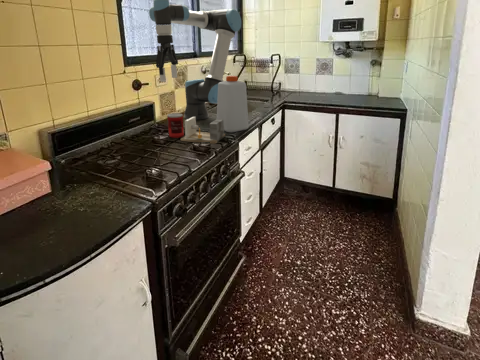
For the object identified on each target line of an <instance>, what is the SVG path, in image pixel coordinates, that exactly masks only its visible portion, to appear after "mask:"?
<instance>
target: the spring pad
mask: <svg viewBox="0 0 480 360" xmlns="http://www.w3.org/2000/svg"><path fill="white" fill-rule="evenodd" d="M197 130H199V124H197V120H196V117H191V118H189V119H184V134H185V135H184V137H190V136H191V135H193V134H194V133H196V132H197Z"/></svg>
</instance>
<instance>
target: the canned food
mask: <svg viewBox="0 0 480 360" xmlns="http://www.w3.org/2000/svg"><path fill="white" fill-rule="evenodd" d="M166 117H167V129H168V136H169V138H172V139H179V138H180V139H181V138H183V137H185V135H184V134H185V126H184V114H182V113H179V112H178V113H176V112H174V113H173V112H171V113H168V114H167V115H166Z"/></svg>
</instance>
